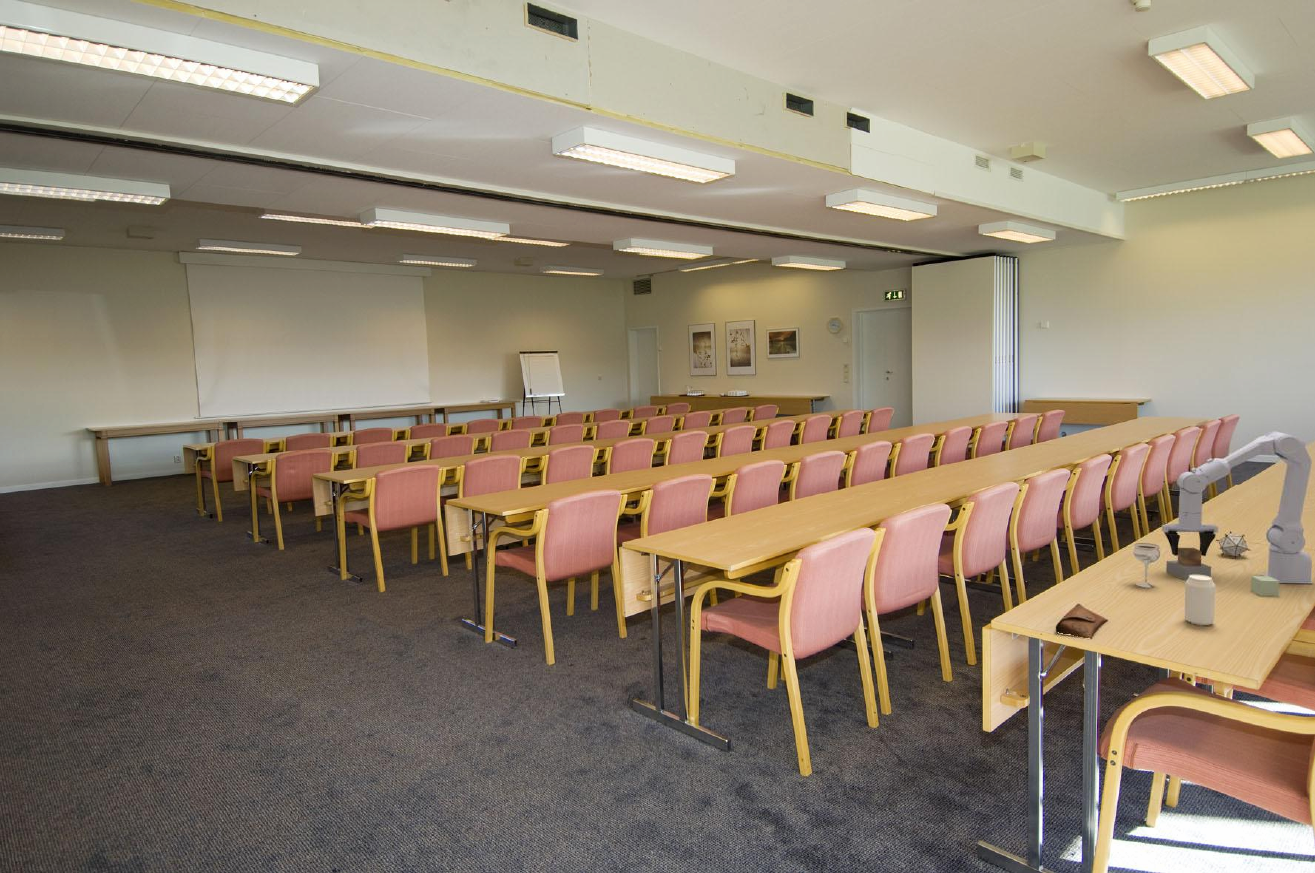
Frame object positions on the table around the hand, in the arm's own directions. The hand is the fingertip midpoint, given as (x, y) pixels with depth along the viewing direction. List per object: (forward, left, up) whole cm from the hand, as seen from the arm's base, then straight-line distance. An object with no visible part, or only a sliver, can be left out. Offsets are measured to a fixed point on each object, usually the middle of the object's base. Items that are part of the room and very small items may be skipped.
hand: (1188, 555), depth 232 cm
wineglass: (+16, +11, -7) cm, 21 cm away
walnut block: (0, 0, -3) cm, 3 cm away
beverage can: (+16, +43, -7) cm, 46 cm away
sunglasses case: (+45, +48, -7) cm, 67 cm away
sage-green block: (-12, +17, -6) cm, 22 cm away
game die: (-23, -23, -7) cm, 33 cm away
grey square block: (0, 0, -7) cm, 7 cm away
